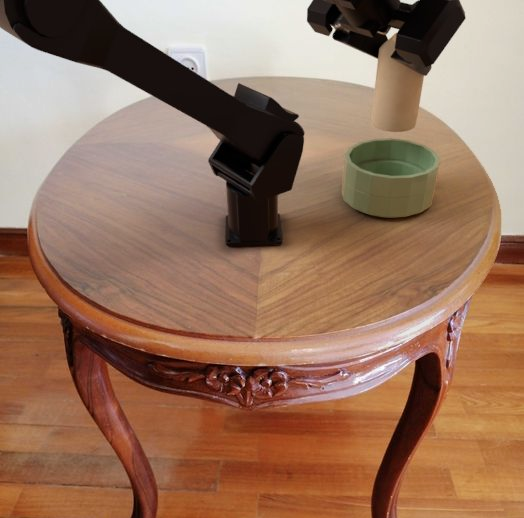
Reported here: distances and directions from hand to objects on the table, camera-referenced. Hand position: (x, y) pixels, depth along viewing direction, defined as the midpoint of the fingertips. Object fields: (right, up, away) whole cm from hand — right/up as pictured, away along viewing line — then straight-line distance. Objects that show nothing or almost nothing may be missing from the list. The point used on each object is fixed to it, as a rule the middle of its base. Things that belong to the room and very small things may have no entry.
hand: (409, 66), depth 70 cm
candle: (-1, -6, +4) cm, 7 cm away
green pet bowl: (-2, -14, +5) cm, 15 cm away
